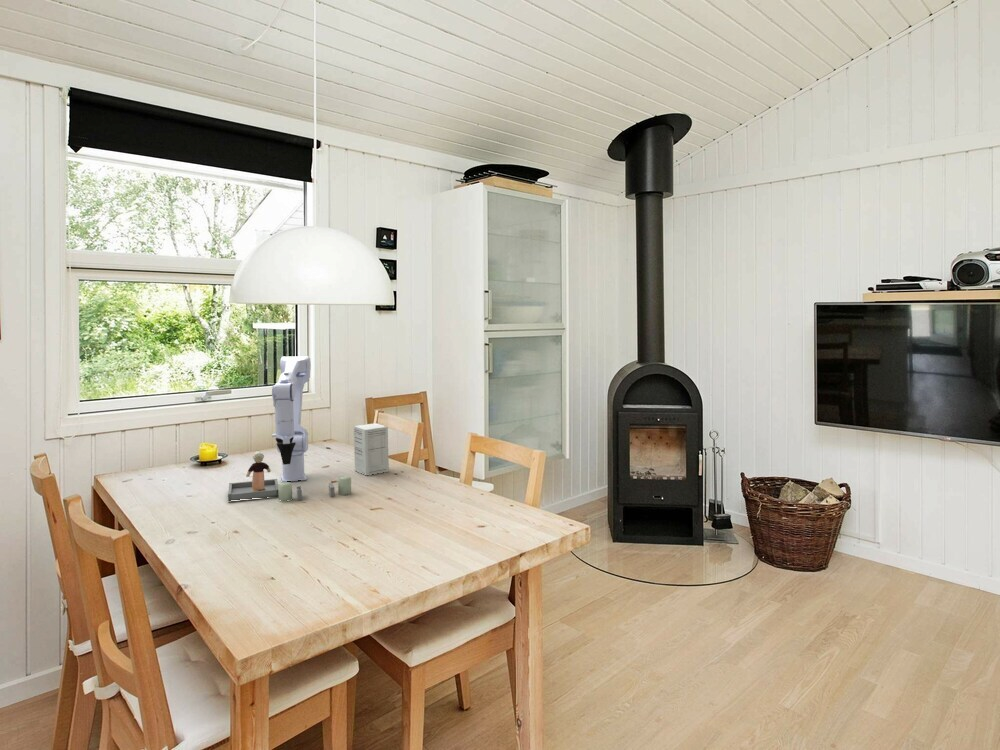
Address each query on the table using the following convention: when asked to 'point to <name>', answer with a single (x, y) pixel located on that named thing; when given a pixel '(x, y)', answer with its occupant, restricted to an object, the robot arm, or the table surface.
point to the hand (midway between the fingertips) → (285, 461)
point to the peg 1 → (344, 485)
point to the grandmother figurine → (258, 472)
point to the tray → (244, 489)
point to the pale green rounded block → (285, 491)
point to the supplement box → (371, 449)
